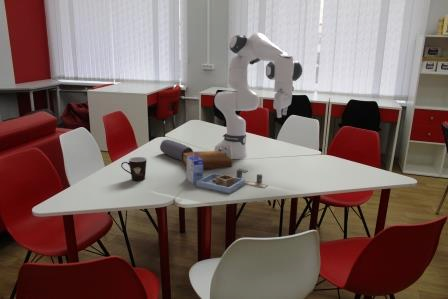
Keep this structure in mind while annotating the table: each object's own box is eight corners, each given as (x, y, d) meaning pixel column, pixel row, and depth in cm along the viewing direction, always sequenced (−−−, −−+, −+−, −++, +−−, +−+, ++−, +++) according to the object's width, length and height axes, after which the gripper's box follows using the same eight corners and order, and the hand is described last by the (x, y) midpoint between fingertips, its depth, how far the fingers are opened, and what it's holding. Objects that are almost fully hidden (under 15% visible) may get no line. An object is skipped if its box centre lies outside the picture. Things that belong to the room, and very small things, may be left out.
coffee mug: (150, 177, 192) (149, 158, 190) (141, 182, 184) (140, 162, 182) (130, 174, 196) (129, 155, 193) (120, 179, 188) (119, 160, 186)
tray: (196, 186, 180) (196, 181, 179) (213, 178, 192) (213, 172, 192) (229, 194, 171) (229, 188, 170) (244, 184, 183) (245, 179, 183)
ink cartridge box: (203, 184, 185) (204, 155, 181) (193, 185, 182) (193, 156, 179) (196, 178, 193) (196, 150, 190) (186, 179, 191) (185, 151, 187)
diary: (191, 171, 199) (191, 160, 197) (181, 161, 215) (181, 151, 214) (231, 169, 207) (232, 159, 206) (218, 160, 224) (219, 150, 223)
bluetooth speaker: (194, 162, 219) (194, 145, 217) (180, 164, 213) (181, 147, 211) (172, 153, 236) (172, 137, 233) (159, 155, 230) (159, 139, 227)
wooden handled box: (230, 181, 188) (230, 171, 187) (239, 176, 196) (239, 166, 195) (264, 188, 179) (265, 178, 178) (272, 182, 187) (272, 173, 186)
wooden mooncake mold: (208, 182, 184) (208, 174, 183) (219, 179, 188) (219, 171, 188) (225, 188, 176) (225, 180, 175) (235, 185, 180) (235, 177, 179)
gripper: (283, 90, 177) (282, 119, 180) (294, 87, 195) (293, 114, 198) (270, 89, 179) (269, 118, 183) (282, 86, 197) (281, 113, 201)
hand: (281, 116), depth 191 cm, fingers open, 8 cm apart
